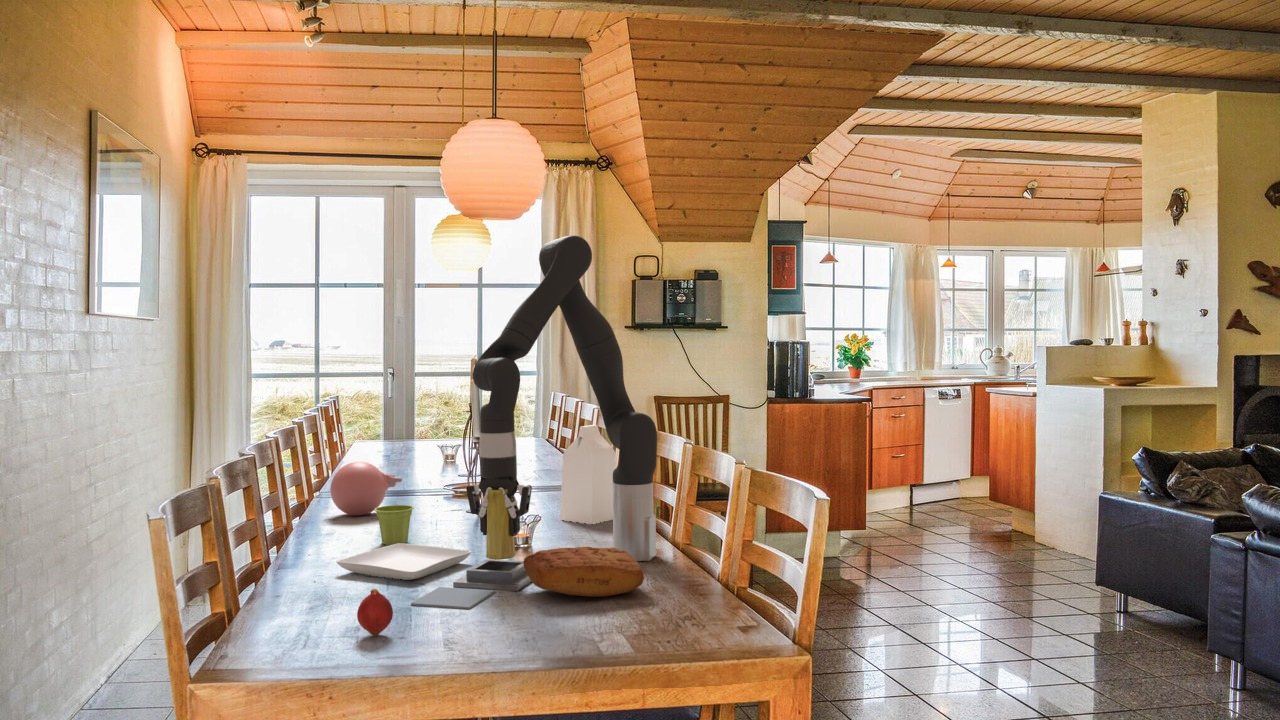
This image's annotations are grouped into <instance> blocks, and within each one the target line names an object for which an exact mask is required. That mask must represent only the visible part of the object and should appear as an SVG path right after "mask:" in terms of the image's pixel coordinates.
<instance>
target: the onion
mask: <svg viewBox="0 0 1280 720" xmlns="http://www.w3.org/2000/svg"><path fill="white" fill-rule="evenodd" d="M356 614H357V615H356V617H357V621H358V623H359V625H360V627H361V628H363V629H364V631H366V632H368V633H370V635H371V636H374V637H376V636H378V635H380V634H381V633H382V632H383V631H385V630H386V629H387V628H388V627H389V625H390V623H391V622H392V619H393V615H394V610H393V606H392V603H391V601H390V599H388V598H387V597H386V596H385V595H383V594H382V593H381V592H380V591H379V590H378V589H377V588H373V589H371V590H370V594H368V595H367V596H366V597H364V598H363V600H362V601H361V602H360V604H359V606H358V609H357V613H356Z"/></svg>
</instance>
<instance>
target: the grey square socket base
mask: <svg viewBox="0 0 1280 720" xmlns="http://www.w3.org/2000/svg"><path fill="white" fill-rule="evenodd" d="M523 561H524V560H523ZM523 561H522V560H508V559H502V560H494V559H488V558H486V559H484V560H483V561H481V562H479V563H477V564H476V565H473V566H472V567H470V568H468V569H466V572H465V574H464V575H463V576H461V577H459V578H457V579H456V580H454V581H453V582H452V584H453V585H452V588H464V589H481V590H495V591H496V590H497V591H498V590H499V591H512V592H513V591H515V592H518V591H520V590H522V589H523V588H524V587H526V586H527V585H529V584H531V583H532V581H531V580H530V578H529V576H528V574H527V572H526V570H525V568H524V564H523Z"/></svg>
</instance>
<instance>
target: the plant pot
mask: <svg viewBox="0 0 1280 720" xmlns="http://www.w3.org/2000/svg"><path fill="white" fill-rule="evenodd" d="M413 510H414V506H413V505H410V504H393V505H392V504H390V505H383V506H382V505H381V506H379V507H378V508H375V510H374V512H375V513H376V517H377V518H378V525H379V531H380V538H381V542H382V544H383V545H384V546H385V545H386V546H390V545H394V544H398V543H403V544H407V543H408V540H409V530H410V522H411V516H412V512H413Z"/></svg>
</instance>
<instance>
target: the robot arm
mask: <svg viewBox="0 0 1280 720" xmlns="http://www.w3.org/2000/svg"><path fill="white" fill-rule="evenodd" d="M592 260H593V251H592V248H591V246H590V244H589V242H588V241H587V240H586V239H585V238H584V237H581V236H580V235H579V236H578V235H572V234H571V235H567V236H562V237H560V238H556V239H553V240H550V241H548V242H546V243H545V244H543V246H542V247H541V249H540V251H539V254H538V263H539V266H540V270H541V272H542V275H543V276H544V277H543V279H542V280H541V282H540V283H539V284H538V286H537V287H536V288H535V289H534V290H533V291H532V292H531V293H530V294H529V295H528V296H527V298H525V300H523V302H522V303H521V304H520V305H519V307H517V309H516V310H515V311H514V313H513V314H512V316H511V317H510V318H509V320H508V322H507V323H506V325H505V326H504V328H503V330H502V332H500V333H501V334H500V335H499V336H498V338H496V340H495V341H493V342H492V343H491V345H489V346H488V348H487V349H486V350H484V351H483V353H482V354H481V355H480V356H479V358H478V359H477V361H476V362H475V364H474V366H473V370H472V380H473V381H472V382H473V383H474V384H475V386H476V387H477V388H478V389H479V390H480V391H481V390H482V391H485V392H490V394H489V395H490V396H489V400H488V403H486V404H484V405H482V406H481V407H480V411H479V429H480V433H479V436H480V438H479V446H478V447H479V448H478V453H479V475H480V480H479V483H477V484H475V483H473V484H469V485H467V486H466V489H465V490H466V496H467V499H468V500H467V501H468V505H469V510H470V513H471V515H476V516H478V517H479V524H480V526H479V527H480V529H479V531H480V533H482V535H483V536H487V494H488V489H489V490H503V495H505V498H506V499H505V506H506V508H507V509H508V511H509V513H510V515H511V517H512V518H510V528H511V536H514V537H516V536H518V533H520V531H521V516H524V515H526V514H528V513H529V509H530V504H531V497H532V496H531V495H532V490H533V486H532V485H531V484H528V485H524V484H520V483H519V481H518V478H517V476H518V469H517V467H518V465H517V464H518V463H517V439H516V433H515V430H516V429H515V409H516V404H517V400H518V397H519V396H518V395H519V392H520V385H521V373H520V370H519V367H518V364H517V363H516V361H517V360H519V359H521V358H524V357H526V356H527V355H528V354H529V353H530V351H531V350H532V348H533V347H534V344H535V343H536V341H537V340H538V338H539V337H540V334H541V333H542V331H543V329H544V328H545V326H546V325H547V323H548V322H549V320H550V318H551V317H552V315H553V314H554V312H555V311H556V310H557V308H558V307H559V308H560V312H561V313H562V316H563V318H564V321H565V323H566V326H567V328H568V329H569V330H568V331H569V333H570V335H571V338H572V342H573V344H574V346H575V349H576V352H577V354H578V358H579V360H580V362H581V365H582V367H583V368H584V372H585V373H586V376H587V378H588V381H589V384H590V385H591V388H592V390H593V393H594V395H595V397H596V400H597V403H598V406H599V408H600V410H599V411H600V413H601V417H602V420H603V424H604V428H605V432H606V434H607V437H608V439H609V442H610V443H611V444H612V446H614V448H616V449H618V450H619V452H618V453H619V455H618V456H619V457H618V464H617V465H616V469H614V471H613V519H612V540H613V542H612V545H613V547H612V548H617V549H618V550H623V551H626V552H628V554H630V555H631V556H632V557H633V558H634V559H635V560H636V561H637V562H642V561H645V562H646V561H647V562H648V561H649V562H650V561H651V560H652V559H654V558H655V557H656V556H657V530H656V529H657V527H656V526H657V525H656V523H657V521H656V519H657V517H656V514H655V513H654V474H655V471H656V469H657V457H658V456H657V455H658V452H657V451H658V449H657V448H658V434H657V433H658V431H657V426H656V423H655V421H654V420H653V419H652V418H651V417H650V416H649V415H648V414H645V413H642V412H638V411H636V410H635V408H634V406H633V403H632V402H631V400H630V397H629V395H628V392H627V390H626V386H625V379H624V361H623V356H622V355H623V354H622V351H621V348H620V346H619V342H618V340H617V337H616V333H615V332H614V330H613V328H612V326H611V324H610V322H609V321H608V320H607V318H605V316H604V315H603V314H602V312H600V311H599V310H598V308H597V307H596V306H595V305H594V304H593V303H592V301H591V300H590V299H589V297H588V296H587V294H586V293H585V290H584V288H583V286H582V283H581V281H580V279H581V278H583V276H584V274H586V272H587V271H588V269H590V267H591V264H592ZM504 489H508V495H507V494H506V492H505V490H504ZM517 491H518V492H519V493H518V494H519V495H520V502H519V505H518V501H517V499H516V496H515V495H516V492H517ZM480 492H481V493H482V494H483V496H484V497H483V500H482V501H481V503H480V498H479V493H480ZM510 499H512V502H511V501H510Z"/></svg>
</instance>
